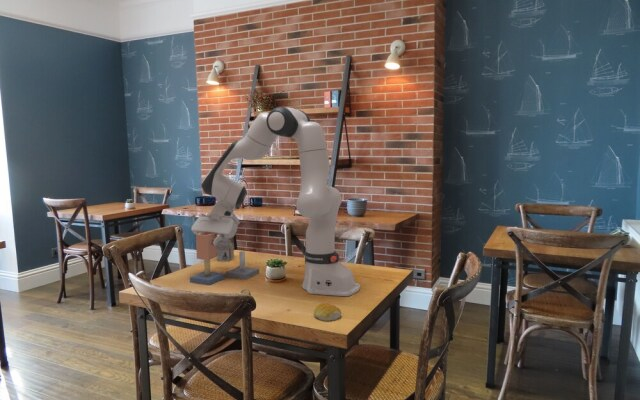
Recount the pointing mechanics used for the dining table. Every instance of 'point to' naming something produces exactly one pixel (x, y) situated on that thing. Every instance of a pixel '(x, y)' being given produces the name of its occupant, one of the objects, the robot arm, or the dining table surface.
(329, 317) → the bread roll
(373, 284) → the dining table surface
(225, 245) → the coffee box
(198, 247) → the sleeve
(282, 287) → the dining table surface
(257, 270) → the stand
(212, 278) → the peg base
